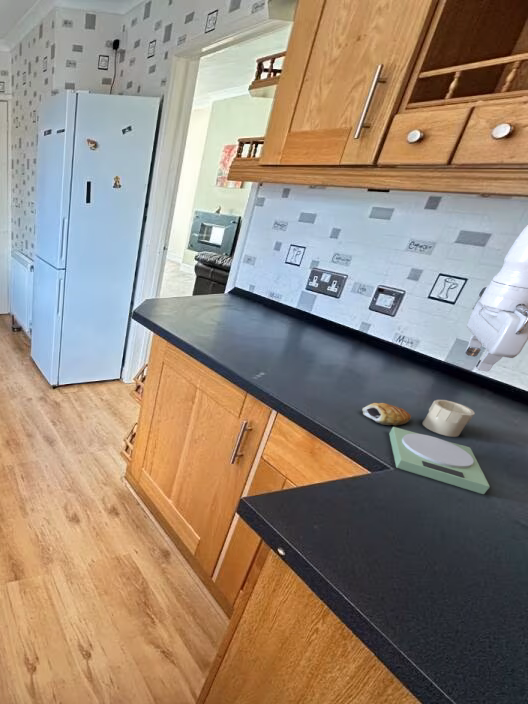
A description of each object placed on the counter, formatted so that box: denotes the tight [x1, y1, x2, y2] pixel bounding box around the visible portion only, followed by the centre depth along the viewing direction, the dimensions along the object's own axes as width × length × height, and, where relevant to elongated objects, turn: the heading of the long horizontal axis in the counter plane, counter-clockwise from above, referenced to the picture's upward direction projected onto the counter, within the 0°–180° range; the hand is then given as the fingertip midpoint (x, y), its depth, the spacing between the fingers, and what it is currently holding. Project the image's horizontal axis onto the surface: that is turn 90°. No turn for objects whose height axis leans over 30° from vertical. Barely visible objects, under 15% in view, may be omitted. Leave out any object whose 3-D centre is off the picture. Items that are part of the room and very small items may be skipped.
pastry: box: [361, 402, 412, 426], centre depth 100 cm, size 9×7×4 cm
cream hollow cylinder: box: [421, 399, 476, 438], centre depth 96 cm, size 7×7×6 cm
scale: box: [388, 426, 491, 495], centre depth 86 cm, size 13×15×3 cm
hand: (475, 362), depth 88 cm, fingers open, 8 cm apart
